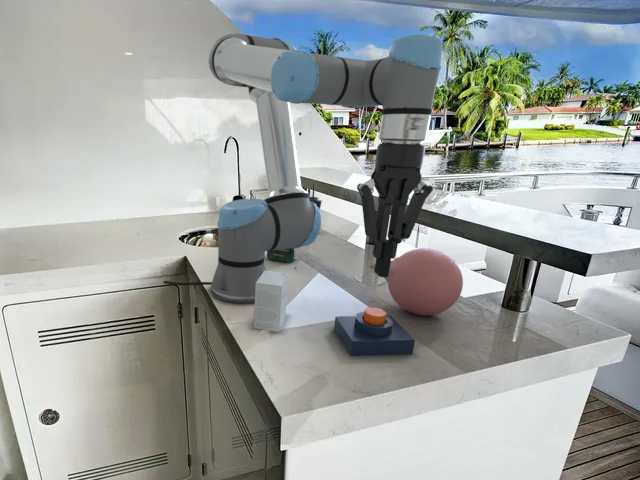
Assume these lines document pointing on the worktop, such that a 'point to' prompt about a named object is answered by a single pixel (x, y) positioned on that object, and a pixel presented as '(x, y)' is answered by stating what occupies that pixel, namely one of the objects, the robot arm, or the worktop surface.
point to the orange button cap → (374, 316)
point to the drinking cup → (315, 198)
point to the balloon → (424, 281)
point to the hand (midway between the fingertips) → (381, 274)
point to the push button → (373, 336)
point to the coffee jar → (283, 254)
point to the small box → (270, 300)
